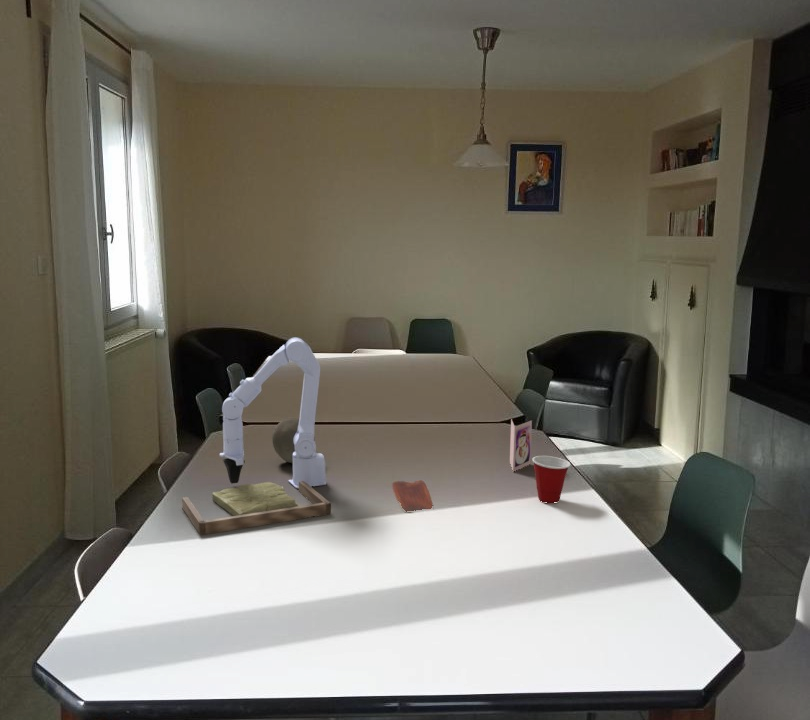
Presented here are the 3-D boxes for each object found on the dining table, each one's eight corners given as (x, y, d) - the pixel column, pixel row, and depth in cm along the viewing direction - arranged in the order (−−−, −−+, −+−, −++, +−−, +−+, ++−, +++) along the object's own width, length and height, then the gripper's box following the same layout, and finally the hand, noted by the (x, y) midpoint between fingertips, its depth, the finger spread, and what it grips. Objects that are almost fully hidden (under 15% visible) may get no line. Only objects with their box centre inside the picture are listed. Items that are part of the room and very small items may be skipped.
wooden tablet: (391, 484, 238) (391, 479, 237) (423, 483, 239) (423, 478, 238) (399, 515, 211) (399, 509, 211) (436, 514, 212) (436, 508, 212)
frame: (303, 490, 229) (303, 480, 228) (330, 513, 210) (330, 503, 210) (182, 508, 213) (182, 497, 213) (200, 535, 194) (199, 523, 194)
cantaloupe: (319, 458, 263) (318, 414, 260) (310, 470, 249) (309, 424, 247) (278, 456, 264) (277, 413, 262) (266, 468, 250) (266, 423, 248)
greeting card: (515, 472, 249) (517, 427, 246) (495, 468, 253) (496, 423, 251) (532, 464, 258) (534, 420, 255) (512, 460, 262) (514, 417, 260)
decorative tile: (239, 523, 204) (239, 510, 203) (211, 501, 220) (211, 489, 220) (303, 509, 214) (303, 497, 214) (271, 490, 231) (271, 478, 230)
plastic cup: (569, 508, 216) (571, 466, 215) (529, 505, 219) (531, 464, 217) (569, 496, 227) (570, 456, 225) (531, 493, 229) (532, 453, 227)
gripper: (213, 433, 234) (214, 477, 236) (225, 445, 221) (227, 491, 223) (236, 431, 237) (237, 474, 239) (250, 442, 224) (251, 488, 226)
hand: (234, 482), depth 231 cm, fingers closed
